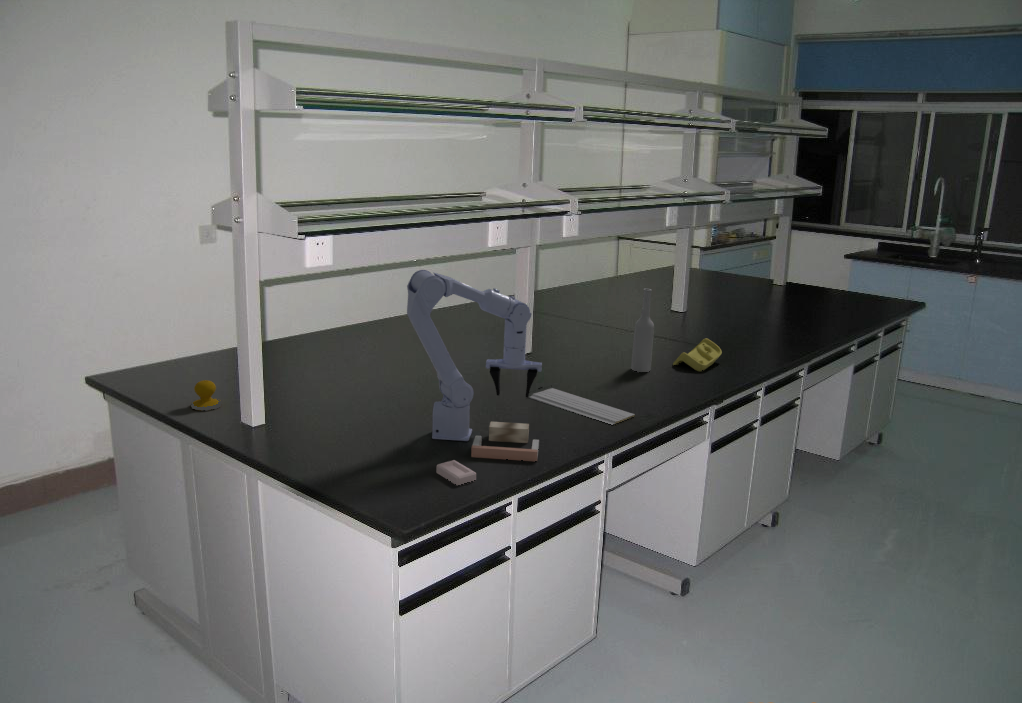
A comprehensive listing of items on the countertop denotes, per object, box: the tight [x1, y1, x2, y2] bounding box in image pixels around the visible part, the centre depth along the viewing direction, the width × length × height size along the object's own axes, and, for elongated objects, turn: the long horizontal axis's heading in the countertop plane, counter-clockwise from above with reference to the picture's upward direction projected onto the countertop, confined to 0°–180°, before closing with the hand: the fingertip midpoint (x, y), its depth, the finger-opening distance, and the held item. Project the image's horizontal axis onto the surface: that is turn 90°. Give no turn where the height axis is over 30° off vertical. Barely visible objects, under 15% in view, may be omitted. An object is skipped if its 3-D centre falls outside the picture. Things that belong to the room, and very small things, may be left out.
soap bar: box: [435, 459, 477, 486], centre depth 183 cm, size 5×9×2 cm, turn 38°
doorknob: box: [192, 379, 219, 407], centre depth 221 cm, size 8×8×8 cm
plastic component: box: [672, 338, 723, 372], centre depth 283 cm, size 20×7×10 cm
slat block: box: [488, 421, 530, 444], centre depth 207 cm, size 10×4×4 cm, turn 86°
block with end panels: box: [470, 435, 540, 462], centre depth 198 cm, size 16×8×2 cm, turn 85°
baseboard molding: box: [527, 385, 636, 426], centre depth 232 cm, size 31×3×12 cm
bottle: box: [630, 288, 655, 373], centre depth 269 cm, size 7×7×28 cm
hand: (512, 395), depth 212 cm, fingers open, 7 cm apart
